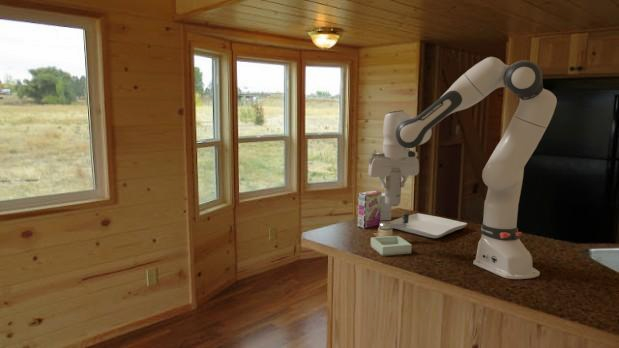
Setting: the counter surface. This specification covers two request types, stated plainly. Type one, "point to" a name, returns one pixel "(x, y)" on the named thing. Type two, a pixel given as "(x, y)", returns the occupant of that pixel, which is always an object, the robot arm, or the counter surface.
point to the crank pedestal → (383, 233)
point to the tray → (390, 245)
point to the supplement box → (385, 209)
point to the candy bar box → (369, 209)
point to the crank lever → (395, 223)
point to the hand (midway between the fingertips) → (393, 187)
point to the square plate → (430, 225)
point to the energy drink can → (393, 188)
